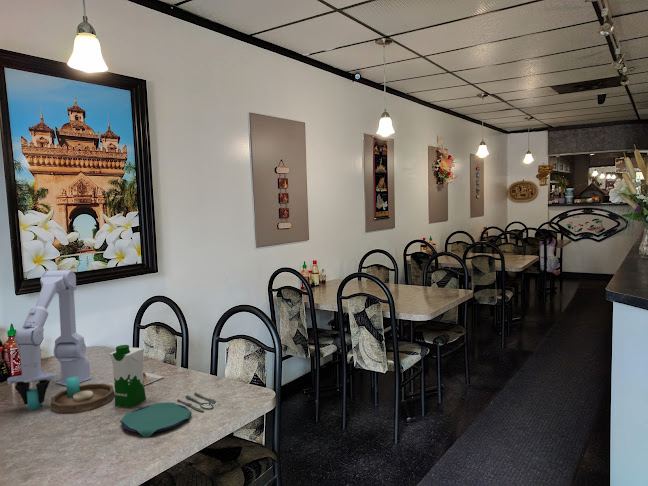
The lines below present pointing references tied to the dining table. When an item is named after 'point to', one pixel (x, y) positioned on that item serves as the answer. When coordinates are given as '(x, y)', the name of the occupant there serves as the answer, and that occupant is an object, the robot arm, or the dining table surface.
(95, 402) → the groove tray
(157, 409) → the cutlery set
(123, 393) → the milk carton
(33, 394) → the bead
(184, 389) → the dining table surface
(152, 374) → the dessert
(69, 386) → the teal upright block
